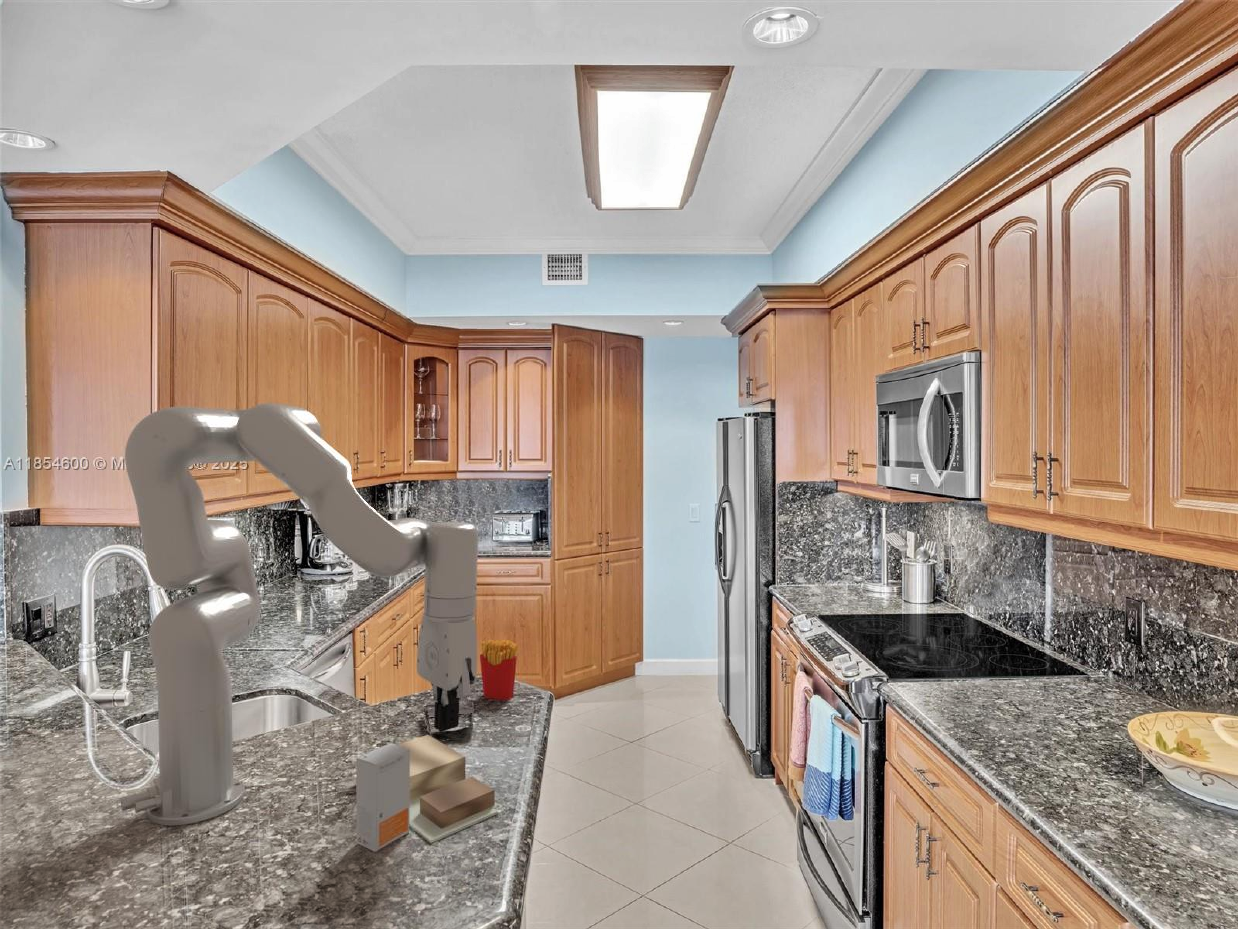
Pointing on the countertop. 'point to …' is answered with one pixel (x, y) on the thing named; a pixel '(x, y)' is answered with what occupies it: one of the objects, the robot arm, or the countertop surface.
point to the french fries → (498, 669)
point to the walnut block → (457, 802)
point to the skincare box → (382, 796)
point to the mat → (432, 830)
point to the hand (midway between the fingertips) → (446, 727)
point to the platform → (432, 765)
